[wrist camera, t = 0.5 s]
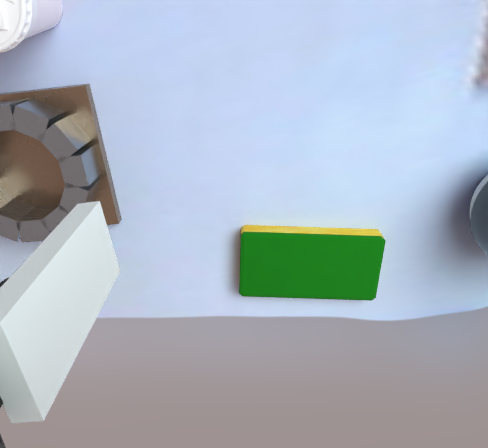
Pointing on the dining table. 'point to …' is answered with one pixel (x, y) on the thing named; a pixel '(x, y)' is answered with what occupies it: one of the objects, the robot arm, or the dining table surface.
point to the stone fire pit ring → (50, 161)
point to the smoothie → (26, 19)
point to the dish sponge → (310, 262)
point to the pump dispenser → (480, 215)
